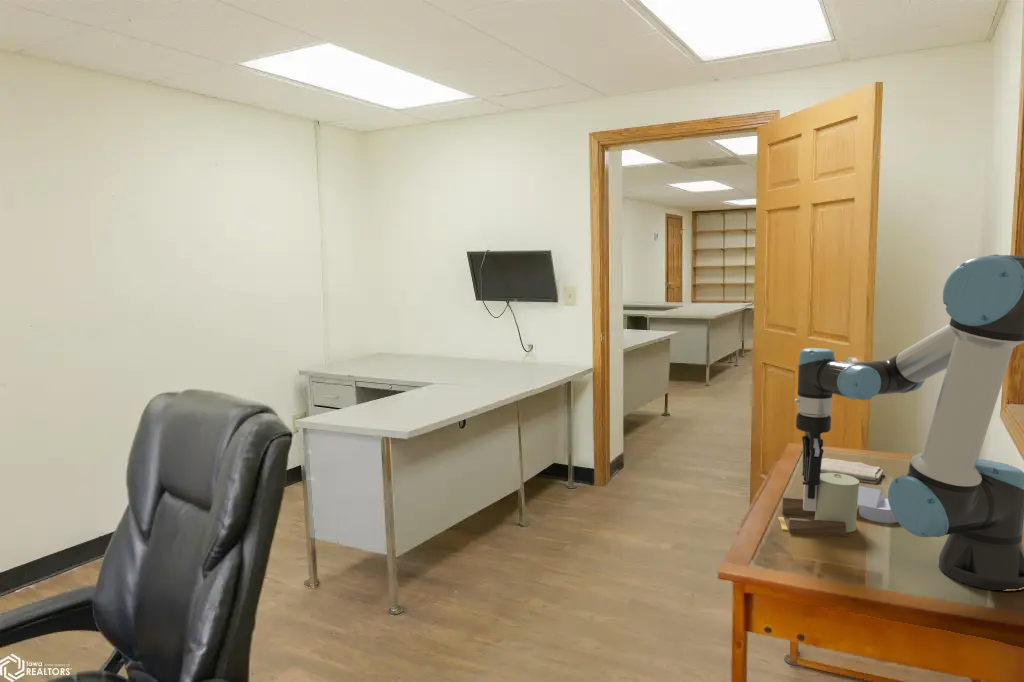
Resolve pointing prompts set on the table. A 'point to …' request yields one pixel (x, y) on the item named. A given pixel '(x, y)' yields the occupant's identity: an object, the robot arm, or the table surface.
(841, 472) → the washcloth
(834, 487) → the can
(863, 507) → the wedge on round base
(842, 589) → the table surface
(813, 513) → the channel
